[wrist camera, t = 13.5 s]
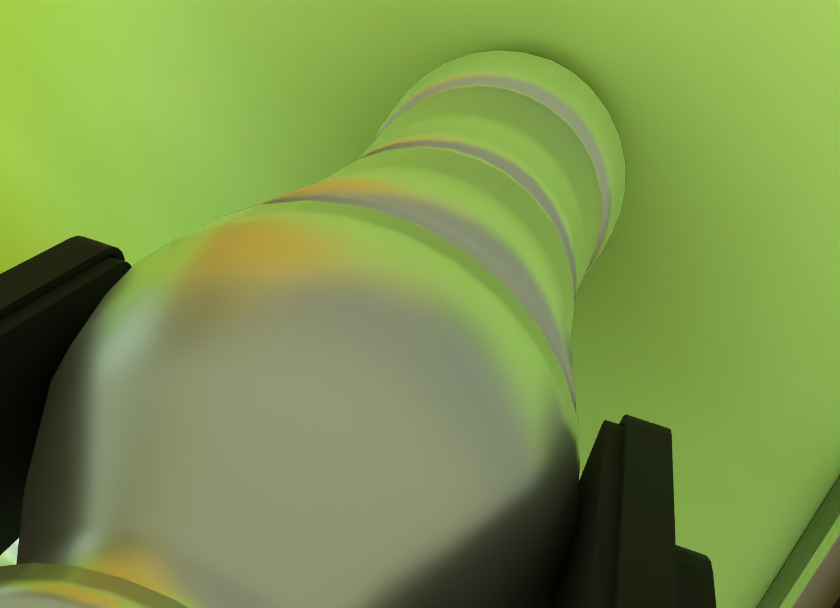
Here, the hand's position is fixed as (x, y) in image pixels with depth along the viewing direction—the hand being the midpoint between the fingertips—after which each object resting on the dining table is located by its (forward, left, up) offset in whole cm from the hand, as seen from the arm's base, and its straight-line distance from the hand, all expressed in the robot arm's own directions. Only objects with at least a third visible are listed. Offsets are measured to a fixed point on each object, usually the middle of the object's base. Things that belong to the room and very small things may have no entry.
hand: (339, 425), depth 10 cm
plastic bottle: (0, 0, -14) cm, 14 cm away
